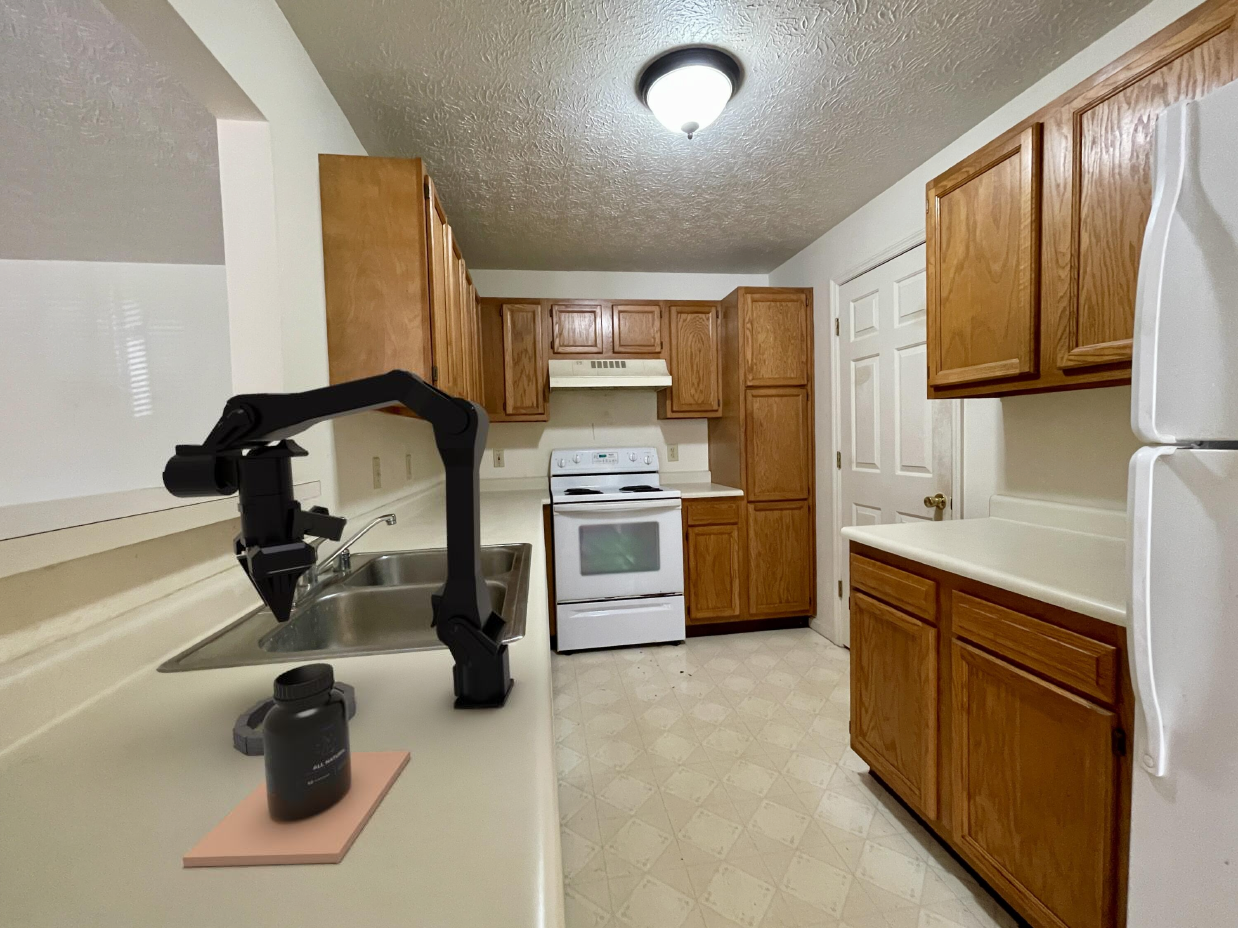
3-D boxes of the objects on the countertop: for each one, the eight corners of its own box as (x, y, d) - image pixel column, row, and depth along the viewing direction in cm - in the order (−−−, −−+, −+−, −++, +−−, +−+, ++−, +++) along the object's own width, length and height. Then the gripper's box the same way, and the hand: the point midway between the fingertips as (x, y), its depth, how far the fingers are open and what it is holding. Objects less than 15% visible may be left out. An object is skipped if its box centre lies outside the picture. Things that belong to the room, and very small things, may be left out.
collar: (373, 694, 66) (372, 680, 66) (315, 753, 54) (314, 735, 54) (285, 697, 67) (284, 683, 67) (207, 756, 54) (205, 739, 54)
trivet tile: (410, 757, 52) (409, 750, 52) (339, 862, 39) (338, 853, 39) (292, 761, 53) (292, 754, 53) (183, 866, 40) (182, 857, 40)
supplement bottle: (336, 817, 43) (326, 687, 43) (252, 830, 42) (240, 697, 42) (363, 766, 50) (355, 653, 49) (291, 777, 49) (281, 662, 48)
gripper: (357, 490, 61) (366, 612, 62) (321, 485, 74) (328, 584, 75) (246, 501, 53) (258, 640, 54) (228, 493, 66) (238, 604, 67)
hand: (276, 613), depth 63 cm, fingers open, 9 cm apart
